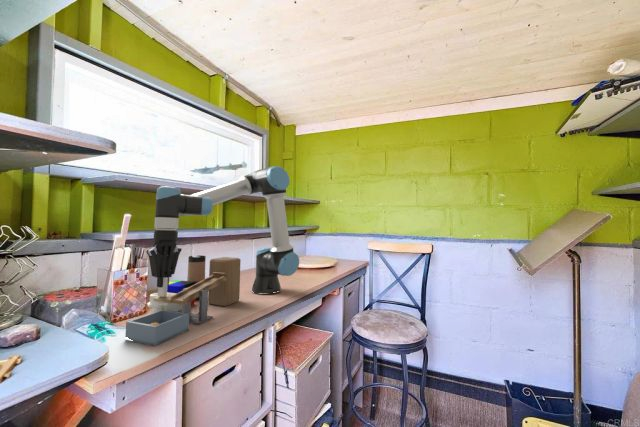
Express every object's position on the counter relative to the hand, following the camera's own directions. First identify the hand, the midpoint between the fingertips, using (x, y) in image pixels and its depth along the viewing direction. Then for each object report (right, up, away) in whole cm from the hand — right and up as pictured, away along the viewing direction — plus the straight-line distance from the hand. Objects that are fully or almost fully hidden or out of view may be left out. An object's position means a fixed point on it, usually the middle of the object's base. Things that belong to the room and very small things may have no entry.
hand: (162, 295), depth 95 cm
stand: (+10, -10, +4) cm, 14 cm away
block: (+13, -11, +26) cm, 31 cm away
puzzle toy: (-5, -11, +19) cm, 23 cm away
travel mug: (-3, -11, +32) cm, 34 cm away
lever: (+7, 0, +8) cm, 11 cm away
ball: (+5, -7, -12) cm, 14 cm away
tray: (+5, -9, -11) cm, 15 cm away
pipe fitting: (-7, -10, +8) cm, 15 cm away
